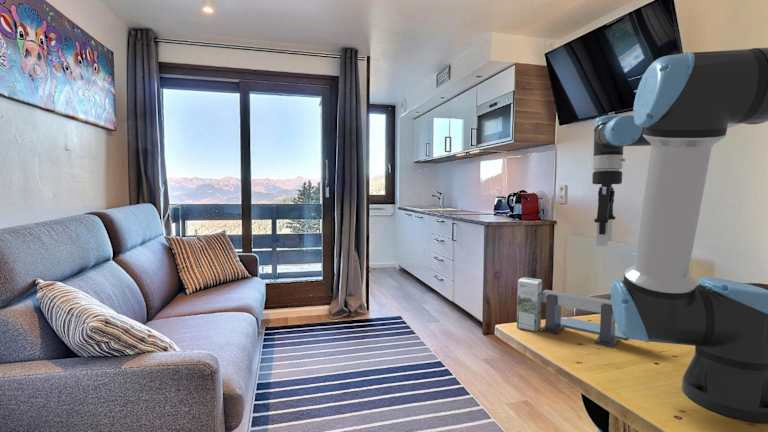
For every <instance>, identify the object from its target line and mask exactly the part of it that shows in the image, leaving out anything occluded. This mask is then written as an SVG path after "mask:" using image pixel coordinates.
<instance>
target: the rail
mask: <svg viewBox="0 0 768 432" xmlns="http://www.w3.org/2000/svg"><path fill="white" fill-rule="evenodd" d="M547 295H548V296H554V297H556V305H560V306H561V307H565V308H566V307H567V308H571V309H576V310H583V311H589V312H593V313H600V314H601V305H607V306H612V302H611V299H606V298H599V297H593V296H586V295H582V294H581V295H580V294H574V293H568V292H564V291H563V292H562V291H557V290H550V289H544V290H543V291H542V295H541V303H544V304H546V296H547ZM612 315H614V314H613V309H612Z"/></svg>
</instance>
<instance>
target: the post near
mask: <svg viewBox="0 0 768 432" xmlns="http://www.w3.org/2000/svg"><path fill="white" fill-rule="evenodd" d="M599 321H600V323H599V324H600V334H598V337H596V339H595V341H594V343H595V344H596V345H600V346H605V347H607V348H608V347H610V348H615V347H616V345H617V343H618V342H619V341H620V339H619V337H617V336H615V327H616V321H615V318H614V315H612V306H607V305H601V313H600V320H599Z"/></svg>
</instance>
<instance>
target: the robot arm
mask: <svg viewBox="0 0 768 432" xmlns="http://www.w3.org/2000/svg"><path fill="white" fill-rule="evenodd" d="M632 109H633V115H632V114H623V115H621V114H620V115H619V114H611V115H609V114H608V115H603V116H599V117H597V118H596V119H595V121H594V128H593V134H594V135H593V157H592V170H594V171H593V172H592V184H593V185H600V186H599V188H598V192H597V195H598V200H597V201H598V202H597V214H596V218H594V221H593V222H594V223H597V224H596V241H595V242H596V245H595V246H598V247H608V245H609V244H608V242H612V240H613V221H614V220H616V216H614V201H615V189H614V187H613V185H621V184H623V172H622V171H621V170H622V169H623V163H625V162H626V158H623V155H624V147H649V146H650V153H649V160H648V166H647V168H648V169H647V175H646V182H645V188H644V189H645V190H644V195H643V196H644V197H643V202H642V210H641V211H642V212H641V218H640V225H639V231H638V239H637V246H636V247H637V248H636V252H635V260H634V264H633V265H631V266H630V267H627V268H626V269H625V270H624V274H623V280H621V279H618V280H614V281H613V282H612V283H611V287H610V300H611V302H612V309H613V314H614V318H615V325H616V327H618V329H619V331H620V332H621V334H622V335H623V336H625V337H626V339H628V340H634V341H640V342H641V341H643V342H645V343H650V342H651V343H659V344H660V343H661V344H672V345H673V344H674V345H682V346H683V345H684V346H693V347H694V355H693V357H692V359H691V361H690V362H689V363H688V364H689V365H688V366H687V368H686V369H685V372H684V374H683V375H682V381H681V390H682V392H683V394H685V396H686V397H688V398H689V399H691V401H693V402H695V403H696V404H698V405H700V406H702V407H704V408H706V409H709V410H710V411H713V412H716V413H719V414H720V415H724V416H727V417H730V418H734V419H737V420H743V421H748V422H754V423H760V424H761V423H762V424H763V423H764V424H768V289H765V288H763V287H760V286H756V285H752V284H748V283H744V282H741V281H737V280H736V281H735V280H732V279H731V280H730V279H725V278H719V277H711V276H706V277H705V276H702V277H700V278H699V280H698V281H696V279H694V278H693V277H692V276H691V274H689V273H690V267H691V266H690V265H691V262H692V255H693V252H694V251H693V250H694V246H695V245H694V244H695V239H696V234H697V228H698V225H699V219H700V218H699V217H700V214H701V213H700V212H701V208H702V201H703V197H704V196H703V195H704V190H705V185H706V180H707V174H708V170H709V169H708V168H709V164H710V158H711V155H712V154H711V152H712V147H713V146H714V145H715V144H717V143H718V142H720V141H722V139H725V138H726V136H727V132H728V129H730V128H733V127H735V126H739V125H741V124H743V125H759V124H764V123H767V122H768V47H753V48H747V49H746V48H744V49H743V48H742V49H730V50H729V49H728V50H714V51H713V50H712V51H699V52H697V51H694V52H689V51H687V52H685V53H677V54H670V55H665V56H661V57H659V58H657V59H655V60H654V61H653V62H652V63H651V64H650V65H649V66H648V67H647V69H646V70H645V72H644V73H643V75H642V77H641V79H640V81H639V85H638V86H637V90H636V93H635V98H634V102H633V108H632Z"/></svg>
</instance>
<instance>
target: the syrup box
mask: <svg viewBox="0 0 768 432" xmlns="http://www.w3.org/2000/svg"><path fill="white" fill-rule="evenodd" d="M542 288H543V279H539V278H531V277H525V276H524V277H521V278H519V279H518V280H517V300H516V301H517V304H516V305H517V306H516V329H519V330H525V331H530V332H535V333H537V332H538V330H539V329H540V327H541V326H542V322H541V320H542V319H541V318H542V317H541V315H542V314H541V313H542V302H541V295H542Z"/></svg>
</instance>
